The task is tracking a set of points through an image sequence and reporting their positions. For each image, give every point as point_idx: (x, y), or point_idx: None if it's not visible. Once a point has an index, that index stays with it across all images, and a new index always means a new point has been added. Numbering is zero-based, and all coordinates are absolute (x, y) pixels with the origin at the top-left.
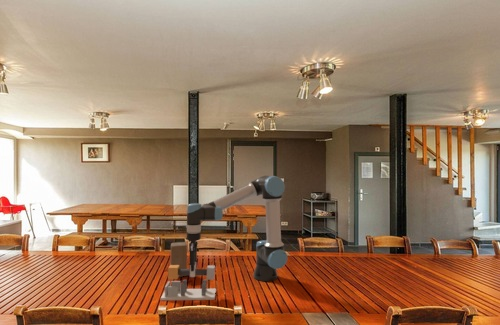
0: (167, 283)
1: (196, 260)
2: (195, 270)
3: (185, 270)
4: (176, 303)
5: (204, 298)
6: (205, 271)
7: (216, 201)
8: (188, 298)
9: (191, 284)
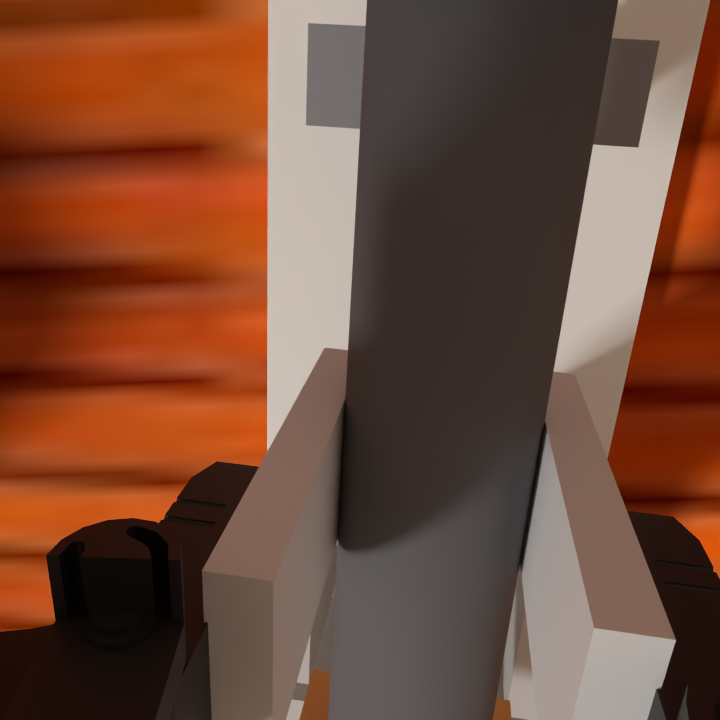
0: None
1: (91, 607)
2: (509, 441)
3: (470, 716)
4: (703, 488)
5: (690, 67)
6: (598, 24)
7: None
8: (628, 345)
9: (22, 319)
